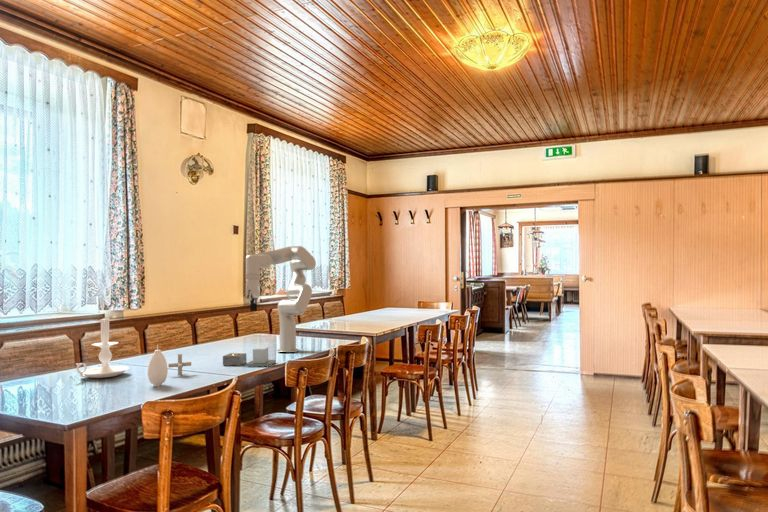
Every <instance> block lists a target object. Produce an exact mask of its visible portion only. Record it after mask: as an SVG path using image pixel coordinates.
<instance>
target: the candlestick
mask: <svg viewBox="0 0 768 512" xmlns="http://www.w3.org/2000/svg"><path fill="white" fill-rule="evenodd" d="M109 338H111V337H110V317H108V318H102V319H101V318H100V340H101V342H94V343H91V346H95V347H98V348H100V351H99V353H98V356H97V357H98V359H99V361H100V363H102V365H101V366H97V367H91V368H88V366H87V364H86V363H84V362H80V363H77V362H76V363H75V365H76V372H77V373H78V374H79V376H80V378H86V377H88V378H93V379H106V378H112V377H116V376H119V375H122V374H124V373H125V372H126V371H128V370H129V369H130V367H129V366H126V365H109V362H110V361H111V359H112V358H113V353H112V352H111V350H110V348H111V347H113V346H115V345H117V344H119V341H109ZM82 365H83V366H84V369H83V370H81V371H80V366H82Z"/></svg>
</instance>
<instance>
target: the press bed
mask: <svg viewBox="0 0 768 512" xmlns="http://www.w3.org/2000/svg"><path fill="white" fill-rule="evenodd" d="M276 361H277V360H276V359H268V361H267V362H265V363H253V360H250V361H249V362H246V363H245V364H244V367H245V366H269V365H271V364H273V363H275V362H276ZM275 364H276V363H275ZM273 365H274V364H273ZM271 366H272V365H271ZM269 367H270V366H269Z"/></svg>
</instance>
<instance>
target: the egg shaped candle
mask: <svg viewBox="0 0 768 512" xmlns="http://www.w3.org/2000/svg"><path fill="white" fill-rule="evenodd" d="M156 346H157V347H156V349H155V350H153V351H154V353H153V354H151V357H150V360H149V361H148V366H147V377H148V380H149V382H150V384H152V386H154V387H161V386H163V383H165V382H166V379H167V378H168V374H169V373H168V370H169V367H168V363H167V359H166V358H165V355H164V354H163V353H162V350H161V349H159V344H158V343H157V345H156Z"/></svg>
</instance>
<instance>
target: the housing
mask: <svg viewBox="0 0 768 512" xmlns="http://www.w3.org/2000/svg"><path fill="white" fill-rule="evenodd" d="M268 360H269V347H258V346H257V347H254V348H253V349H252V361H253V363H265V362H267V361H268Z"/></svg>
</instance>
